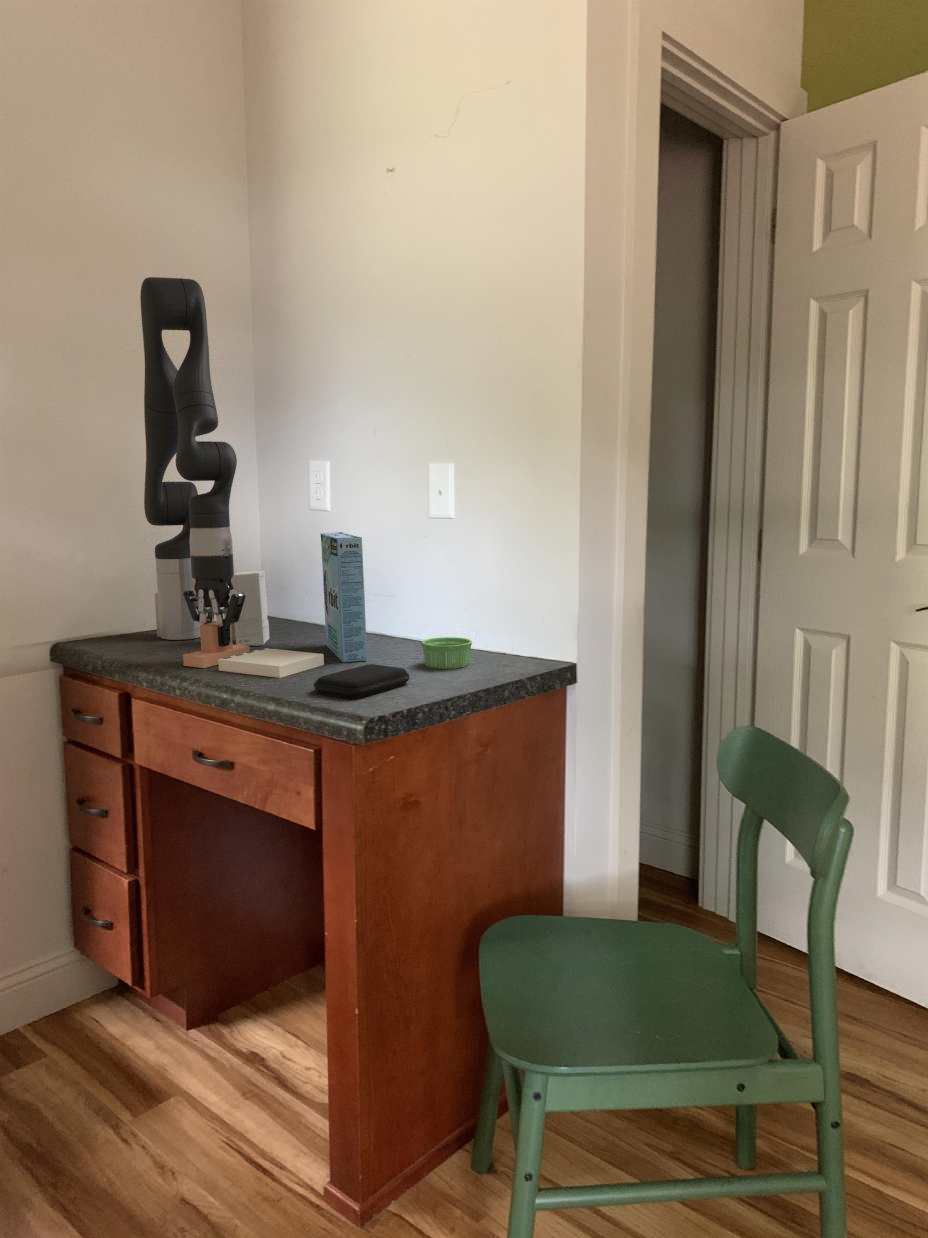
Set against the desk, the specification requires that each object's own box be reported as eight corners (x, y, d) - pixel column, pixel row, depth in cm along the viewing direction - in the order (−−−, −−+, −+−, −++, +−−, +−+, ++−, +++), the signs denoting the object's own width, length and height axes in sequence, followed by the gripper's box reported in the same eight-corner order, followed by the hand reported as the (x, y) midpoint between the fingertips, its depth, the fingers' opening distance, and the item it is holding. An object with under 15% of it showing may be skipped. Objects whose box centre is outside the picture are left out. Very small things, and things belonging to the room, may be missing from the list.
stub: (183, 665, 165) (181, 627, 163) (230, 654, 175) (228, 618, 174) (203, 668, 162) (201, 629, 161) (250, 656, 172) (248, 620, 171)
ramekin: (480, 662, 165) (480, 639, 164) (456, 672, 157) (456, 647, 156) (438, 658, 169) (437, 635, 168) (412, 667, 161) (412, 643, 160)
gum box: (367, 661, 167) (363, 536, 163) (340, 663, 165) (335, 537, 162) (348, 643, 185) (345, 531, 182) (324, 645, 184) (319, 532, 180)
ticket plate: (218, 670, 160) (218, 658, 160) (264, 658, 171) (264, 647, 170) (279, 677, 154) (279, 665, 153) (323, 664, 164) (323, 653, 164)
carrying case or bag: (366, 678, 154) (303, 695, 143) (365, 660, 154) (302, 676, 142) (415, 685, 148) (353, 703, 136) (414, 667, 148) (353, 684, 136)
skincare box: (264, 646, 184) (260, 573, 182) (234, 646, 183) (230, 573, 181) (269, 639, 192) (266, 569, 190) (241, 639, 192) (237, 569, 189)
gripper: (168, 552, 166) (174, 645, 168) (225, 554, 159) (230, 651, 161) (198, 550, 172) (204, 639, 175) (254, 551, 165) (259, 644, 168)
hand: (216, 644), depth 168 cm, fingers closed on stub, 3 cm apart
